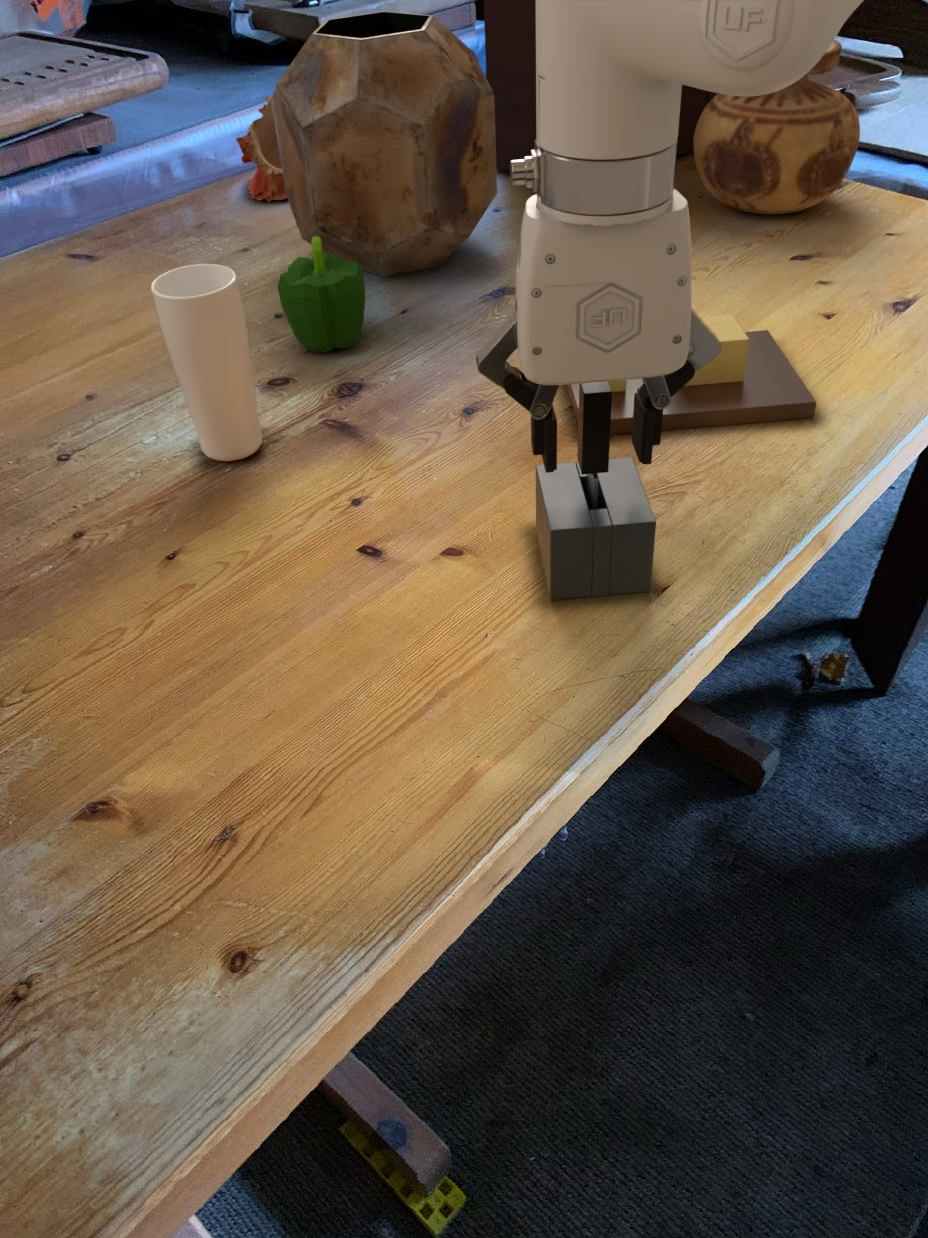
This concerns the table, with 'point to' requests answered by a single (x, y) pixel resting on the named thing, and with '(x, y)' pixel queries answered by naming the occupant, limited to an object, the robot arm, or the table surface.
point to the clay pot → (778, 144)
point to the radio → (516, 82)
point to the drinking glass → (211, 356)
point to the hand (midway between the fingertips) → (594, 455)
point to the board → (725, 395)
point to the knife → (594, 435)
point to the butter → (724, 353)
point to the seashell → (264, 156)
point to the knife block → (594, 531)
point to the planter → (386, 140)
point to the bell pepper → (323, 300)
